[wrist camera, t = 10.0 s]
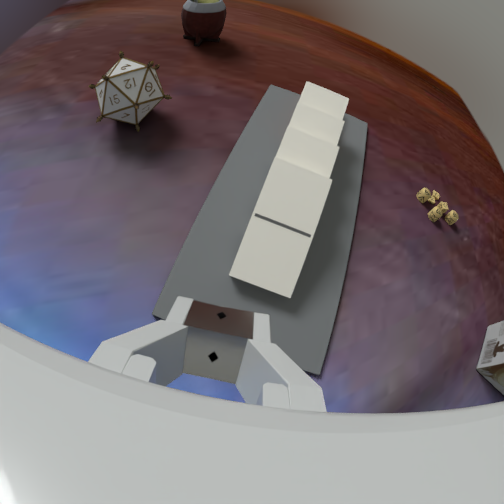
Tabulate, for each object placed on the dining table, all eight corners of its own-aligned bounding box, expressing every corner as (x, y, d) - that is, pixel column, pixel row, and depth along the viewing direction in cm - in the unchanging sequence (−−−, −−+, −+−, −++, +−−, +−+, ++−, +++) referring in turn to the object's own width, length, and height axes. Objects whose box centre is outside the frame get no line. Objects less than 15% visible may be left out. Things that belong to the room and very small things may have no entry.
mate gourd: (226, 34, 42) (238, -39, 28) (215, 52, 38) (227, -32, 25) (185, 29, 41) (191, -42, 27) (170, 47, 38) (173, -34, 24)
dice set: (451, 226, 33) (460, 220, 31) (427, 230, 32) (437, 223, 30) (435, 193, 34) (444, 186, 33) (411, 194, 33) (419, 186, 32)
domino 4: (290, 298, 23) (332, 179, 23) (228, 275, 23) (274, 156, 23) (287, 296, 24) (327, 184, 25) (229, 274, 24) (272, 163, 25)
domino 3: (304, 251, 25) (339, 147, 25) (247, 229, 24) (287, 125, 25) (300, 252, 26) (334, 153, 27) (247, 231, 26) (285, 133, 27)
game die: (127, 131, 34) (111, 61, 29) (186, 116, 32) (171, 40, 27) (87, 152, 27) (66, 67, 21) (154, 133, 25) (133, 35, 20)
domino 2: (315, 211, 26) (344, 121, 27) (262, 190, 26) (297, 102, 27) (311, 214, 28) (340, 127, 28) (261, 194, 28) (295, 109, 28)
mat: (317, 374, 23) (319, 374, 22) (152, 315, 22) (151, 313, 22) (365, 125, 36) (367, 123, 36) (270, 87, 36) (270, 84, 36)
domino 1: (324, 175, 28) (349, 98, 29) (276, 156, 28) (306, 81, 28) (320, 179, 30) (344, 105, 30) (275, 161, 30) (304, 88, 30)
